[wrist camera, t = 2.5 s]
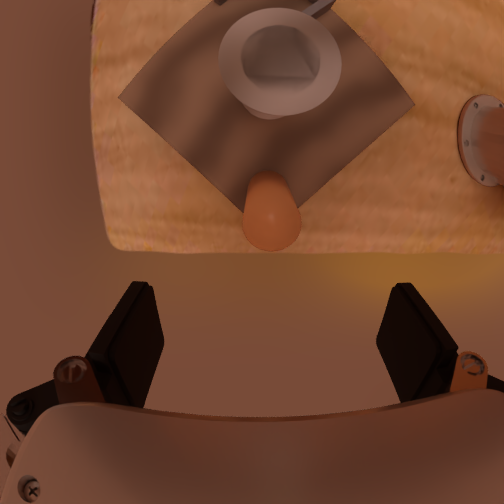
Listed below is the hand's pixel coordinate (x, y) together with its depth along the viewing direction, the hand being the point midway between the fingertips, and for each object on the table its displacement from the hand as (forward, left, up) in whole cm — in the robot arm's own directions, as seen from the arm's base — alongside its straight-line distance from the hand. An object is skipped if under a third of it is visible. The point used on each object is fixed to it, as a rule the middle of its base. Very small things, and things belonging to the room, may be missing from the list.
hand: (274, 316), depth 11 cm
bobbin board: (+7, -8, -22) cm, 24 cm away
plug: (0, 0, -20) cm, 20 cm away
